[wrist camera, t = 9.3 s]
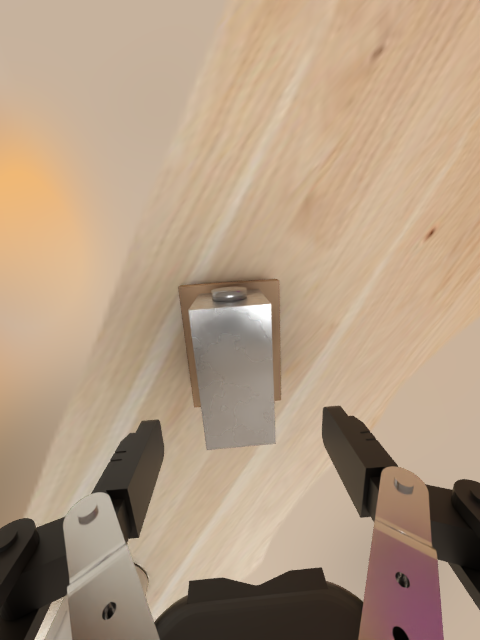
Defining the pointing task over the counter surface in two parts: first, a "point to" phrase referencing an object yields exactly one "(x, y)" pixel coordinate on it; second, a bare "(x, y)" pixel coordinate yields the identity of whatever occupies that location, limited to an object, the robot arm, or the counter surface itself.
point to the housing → (234, 366)
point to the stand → (266, 287)
